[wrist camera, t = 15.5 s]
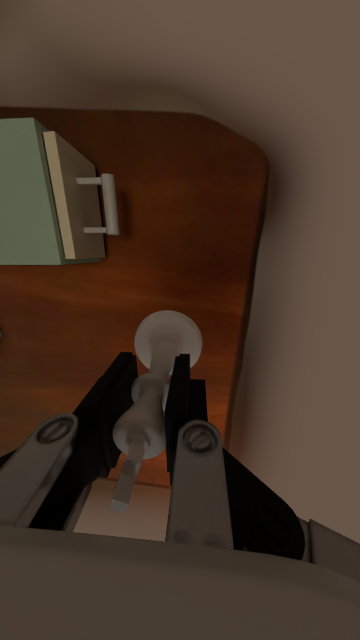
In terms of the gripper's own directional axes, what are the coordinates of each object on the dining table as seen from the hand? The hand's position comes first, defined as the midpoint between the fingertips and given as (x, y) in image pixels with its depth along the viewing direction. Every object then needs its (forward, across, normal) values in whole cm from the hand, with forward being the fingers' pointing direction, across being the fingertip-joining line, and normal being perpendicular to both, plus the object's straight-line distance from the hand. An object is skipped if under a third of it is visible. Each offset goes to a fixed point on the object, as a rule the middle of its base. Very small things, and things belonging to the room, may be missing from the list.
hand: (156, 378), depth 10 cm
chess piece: (+5, 0, 0) cm, 5 cm away
